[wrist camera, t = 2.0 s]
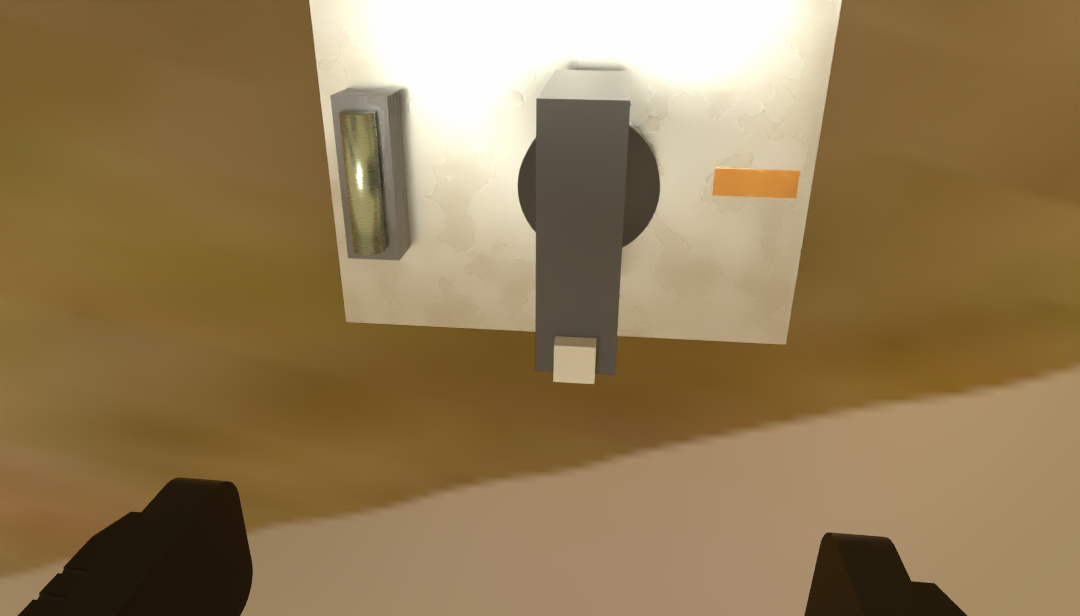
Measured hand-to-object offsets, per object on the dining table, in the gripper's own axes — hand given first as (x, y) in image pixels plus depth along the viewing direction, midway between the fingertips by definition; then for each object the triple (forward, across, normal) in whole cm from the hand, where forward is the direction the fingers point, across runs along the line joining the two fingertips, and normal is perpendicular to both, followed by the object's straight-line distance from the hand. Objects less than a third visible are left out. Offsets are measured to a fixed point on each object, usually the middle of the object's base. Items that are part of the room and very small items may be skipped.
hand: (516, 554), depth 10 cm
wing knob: (+19, 0, 0) cm, 19 cm away
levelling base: (+22, +1, 0) cm, 22 cm away
